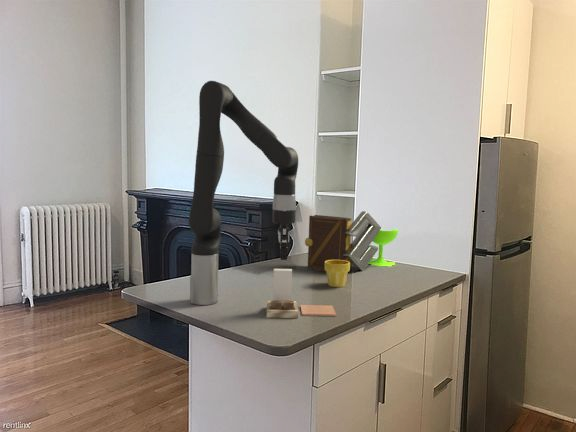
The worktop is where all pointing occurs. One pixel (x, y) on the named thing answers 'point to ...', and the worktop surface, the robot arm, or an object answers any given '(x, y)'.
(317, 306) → the terracotta tile
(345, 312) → the worktop surface
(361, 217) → the emblem
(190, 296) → the robot arm
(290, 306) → the walnut offcut right
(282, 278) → the light grey flat block
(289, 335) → the worktop surface
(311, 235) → the wooden crate
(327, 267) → the plant pot
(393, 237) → the wineglass
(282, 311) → the birch rack
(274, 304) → the walnut offcut left
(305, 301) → the worktop surface
